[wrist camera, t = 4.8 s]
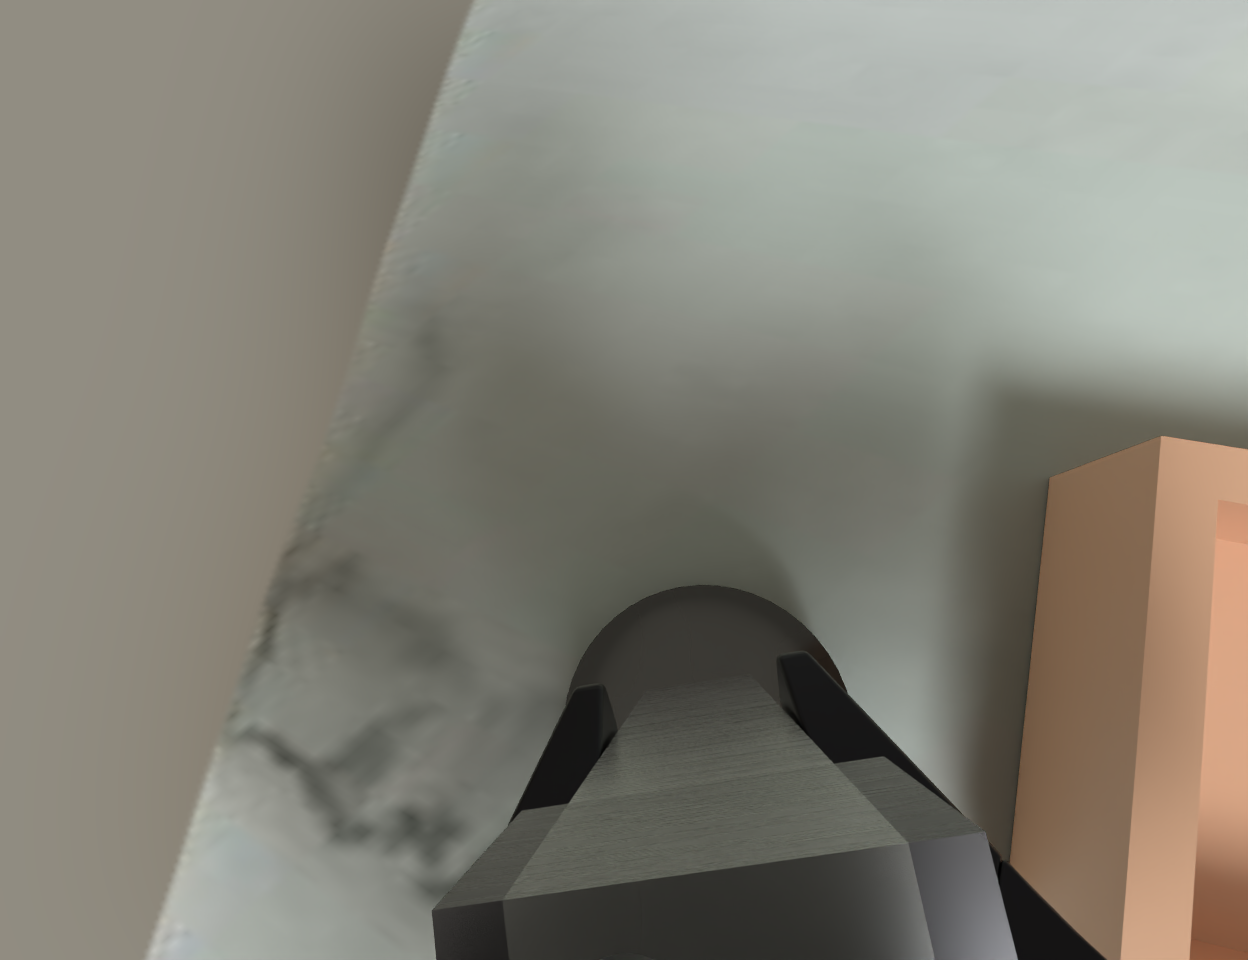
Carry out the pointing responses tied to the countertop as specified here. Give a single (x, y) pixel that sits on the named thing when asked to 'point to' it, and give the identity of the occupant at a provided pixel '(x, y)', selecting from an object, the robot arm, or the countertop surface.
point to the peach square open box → (1142, 705)
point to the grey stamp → (725, 822)
